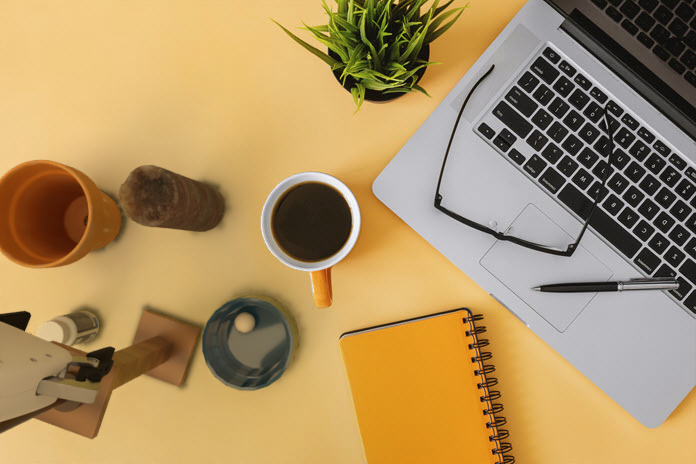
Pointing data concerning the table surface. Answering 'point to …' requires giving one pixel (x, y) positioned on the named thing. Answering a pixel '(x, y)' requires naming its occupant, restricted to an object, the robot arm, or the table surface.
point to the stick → (43, 409)
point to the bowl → (250, 343)
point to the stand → (132, 369)
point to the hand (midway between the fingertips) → (65, 343)
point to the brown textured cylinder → (170, 200)
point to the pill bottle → (70, 328)
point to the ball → (244, 322)
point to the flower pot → (53, 215)
